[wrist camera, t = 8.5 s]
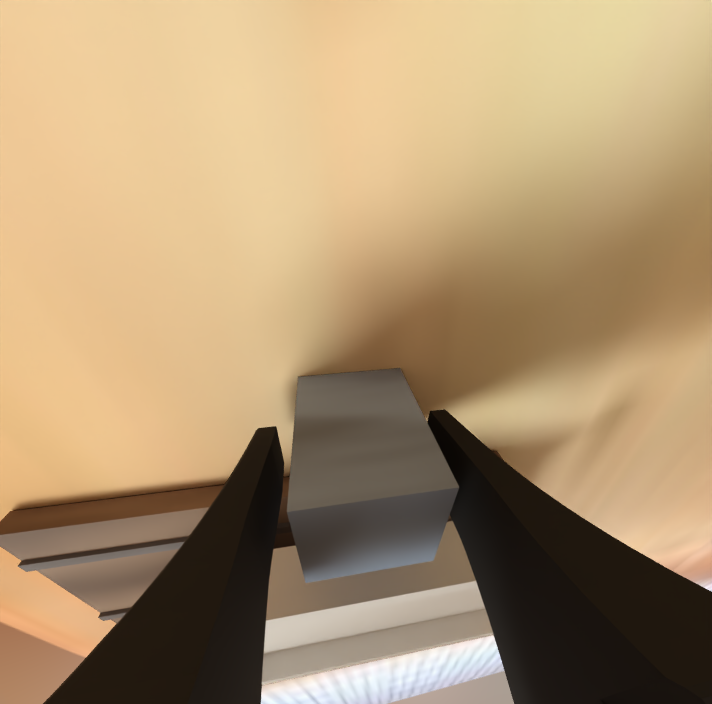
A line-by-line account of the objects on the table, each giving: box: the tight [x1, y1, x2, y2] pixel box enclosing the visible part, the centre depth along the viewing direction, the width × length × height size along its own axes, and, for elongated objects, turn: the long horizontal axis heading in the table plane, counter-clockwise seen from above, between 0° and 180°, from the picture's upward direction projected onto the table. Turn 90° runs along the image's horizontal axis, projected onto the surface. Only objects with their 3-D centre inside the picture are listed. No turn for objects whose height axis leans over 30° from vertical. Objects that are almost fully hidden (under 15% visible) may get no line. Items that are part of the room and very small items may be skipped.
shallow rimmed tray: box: [262, 519, 494, 686], centre depth 14 cm, size 10×16×3 cm, turn 90°
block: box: [287, 368, 459, 583], centre depth 9 cm, size 4×4×5 cm
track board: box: [0, 451, 504, 623], centre depth 15 cm, size 12×23×1 cm, turn 90°
